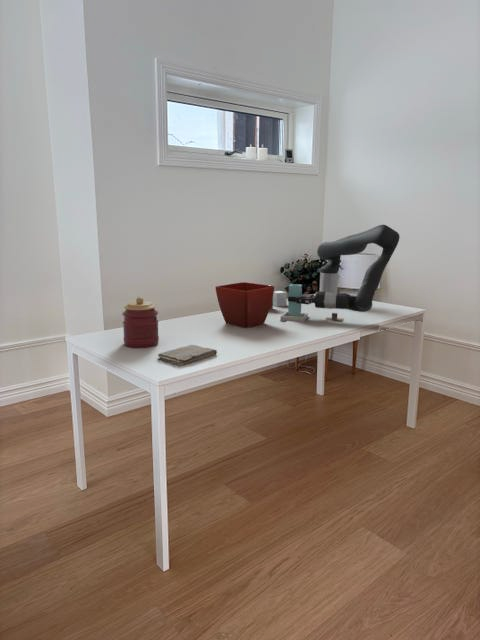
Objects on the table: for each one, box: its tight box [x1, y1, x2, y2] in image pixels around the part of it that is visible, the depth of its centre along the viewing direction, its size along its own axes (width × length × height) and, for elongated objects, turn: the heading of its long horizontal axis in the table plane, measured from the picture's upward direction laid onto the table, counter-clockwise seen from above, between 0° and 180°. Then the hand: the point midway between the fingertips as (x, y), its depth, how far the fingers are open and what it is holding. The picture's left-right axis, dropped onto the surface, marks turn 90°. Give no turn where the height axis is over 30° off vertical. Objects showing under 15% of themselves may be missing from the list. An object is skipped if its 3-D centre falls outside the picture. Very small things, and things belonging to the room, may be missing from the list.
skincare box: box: [273, 290, 288, 308], centre depth 254 cm, size 6×6×7 cm
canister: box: [121, 296, 160, 349], centre depth 177 cm, size 13×13×18 cm
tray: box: [280, 311, 309, 323], centre depth 221 cm, size 11×11×2 cm
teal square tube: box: [287, 283, 303, 314], centre depth 219 cm, size 5×5×13 cm
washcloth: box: [157, 344, 218, 367], centre depth 162 cm, size 12×18×3 cm, turn 141°
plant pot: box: [214, 281, 275, 328], centre depth 211 cm, size 19×19×17 cm
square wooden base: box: [324, 312, 345, 323], centre depth 218 cm, size 8×8×4 cm
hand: (289, 297), depth 220 cm, fingers closed on teal square tube, 5 cm apart
